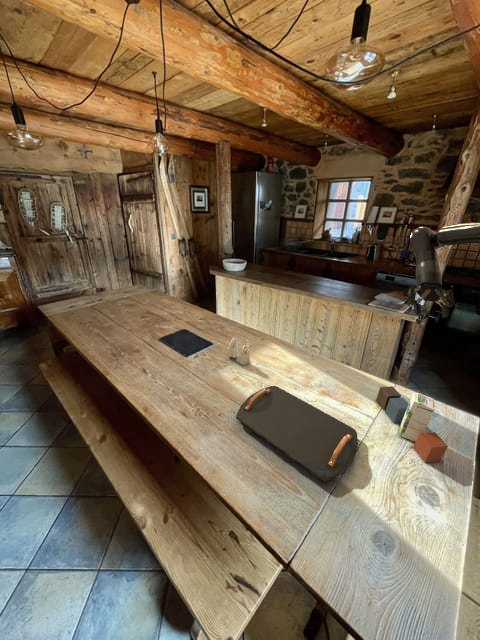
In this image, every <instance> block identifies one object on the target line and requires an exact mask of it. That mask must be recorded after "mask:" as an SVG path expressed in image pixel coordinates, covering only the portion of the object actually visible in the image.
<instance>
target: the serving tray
mask: <svg viewBox="0 0 480 640" xmlns="http://www.w3.org/2000/svg"><path fill="white" fill-rule="evenodd" d="M235 418H236V420H237V421H239V422H240V423H241V424H243V425H244V426H246V428H248V429H250V430H251V431H252V432H254V433H255V434H256V435H258V436H259V437H261V438H263V439H264V440H266V441H267V442H268V443H269V444H270V445H271V446H273V447H274V448H276V449H277V450H279V452H282V453H283V454H285V455H286V456H287V457H288V458H289V459H290V460H292V461H293V462H296V463H297V464H299V465H300V466H301V467H303V468H304V469H306V470H307V471H308V472H310V473H311V474H313V475H314V476H315V477H317V478H318V479H320V480H321V481H322V482H324V483H327V482H328V481H330V480H332V479H334V478H335V477H337V476H340V475H341V474H342V473H344V471H345V470H346V469H348V468H349V467H350V466H351V464H352V462H353V461H354V459H355V457H356V456H357V451H358V445H359V444H358V443H359V442H358V432H357V430H356V429H355V428H354V427H352V426H350V425H349V424H346V422H343V421H341V420H339V419H338V418H336V417H334V416H332V415H331V414H328V413H326V412H325V411H323V410H321V409H319V408H318V407H315V406H313V405H312V404H311V403H308V402H306V401H305V400H303V399H301V398H299V397H298V396H295V395H293V394H292V393H290V392H289V391H286V390H285V389H282V388H281V387H279V386H276V385H270V386H266V387H265V388H262V389H259V390H257V391H256V392H254V393H252V394H250V395H249V396H248V397H247V398H246V399H245V400H244V401H243V403H242V404H241V405H240V407H239V409H238V411H237V413H236V415H235Z"/></svg>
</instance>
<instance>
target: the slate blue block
mask: <svg viewBox="0 0 480 640" xmlns="http://www.w3.org/2000/svg"><path fill="white" fill-rule="evenodd" d="M409 403H410V402H408V401H407V400H406V399H405V398H404V397H400V398H390V399H389V402H388V405H387V408H386V410H384V411H385V412H384V413H385V414H386V415H387V416H388V418H389V419H390V420H391V421H392V423H393V424H395V423H397V424H398V423H401V422H402V420H403V417H404V415H405V412H406V410H407V407H408V405H409Z"/></svg>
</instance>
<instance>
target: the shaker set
mask: <svg viewBox="0 0 480 640" xmlns="http://www.w3.org/2000/svg"><path fill="white" fill-rule="evenodd" d="M238 343H239V342H238V339H237V337H232V339H231V341H230V343H229V345H228V347H227V350H226V352H225V355H226V356H228V357H230V358H233V359H235V358H237V359H236V362H237V363H239V364H240V365H247V364H251V357H250V356H251V355H250V349H249V348H250V347H249V345H248V344H247V345H245V344H244V345H243V346H242V349H241V350H240V352H239V344H238Z"/></svg>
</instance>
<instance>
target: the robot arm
mask: <svg viewBox="0 0 480 640" xmlns="http://www.w3.org/2000/svg"><path fill="white" fill-rule="evenodd" d="M409 242H410V247H411V249H412V252H413V254H414V257H415V278H416V279H415V280H416V287H414V286H411V287H409V289H407V304H408V305H412V306H413V309H414V311H413V312H414V314H415V316H421V315H422V304H421V302H422V301H423V302H435V303H436V304H437V305H439V306H440V307H441V310H440V311H441V317H442V319H446V318H448V317H449V316H450V308H451V307H453V306H454V305H455V304H456V301H455V297H454V292H453V289H451V288H450V289H448V290H445V289H443V288H442V287H443V281H442V273H441V266H440V263H439V253H438V251H437V250H436V249H439V248H443V247H446V246H456V245H464V244H465V245H466V244H467V245H468V244H478V243H480V222H462V223H455V224H449V225H444V226H442V227H440V228H439V229H438V230H437V232H435V231H434V230H432V229H430V228H429V227H427V226H418V227H416V228H414V229H413V231H412V232H411V235H410V238H409ZM415 294H417V295H418V298H417V299H416V298H415V297H416V296H415Z"/></svg>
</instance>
